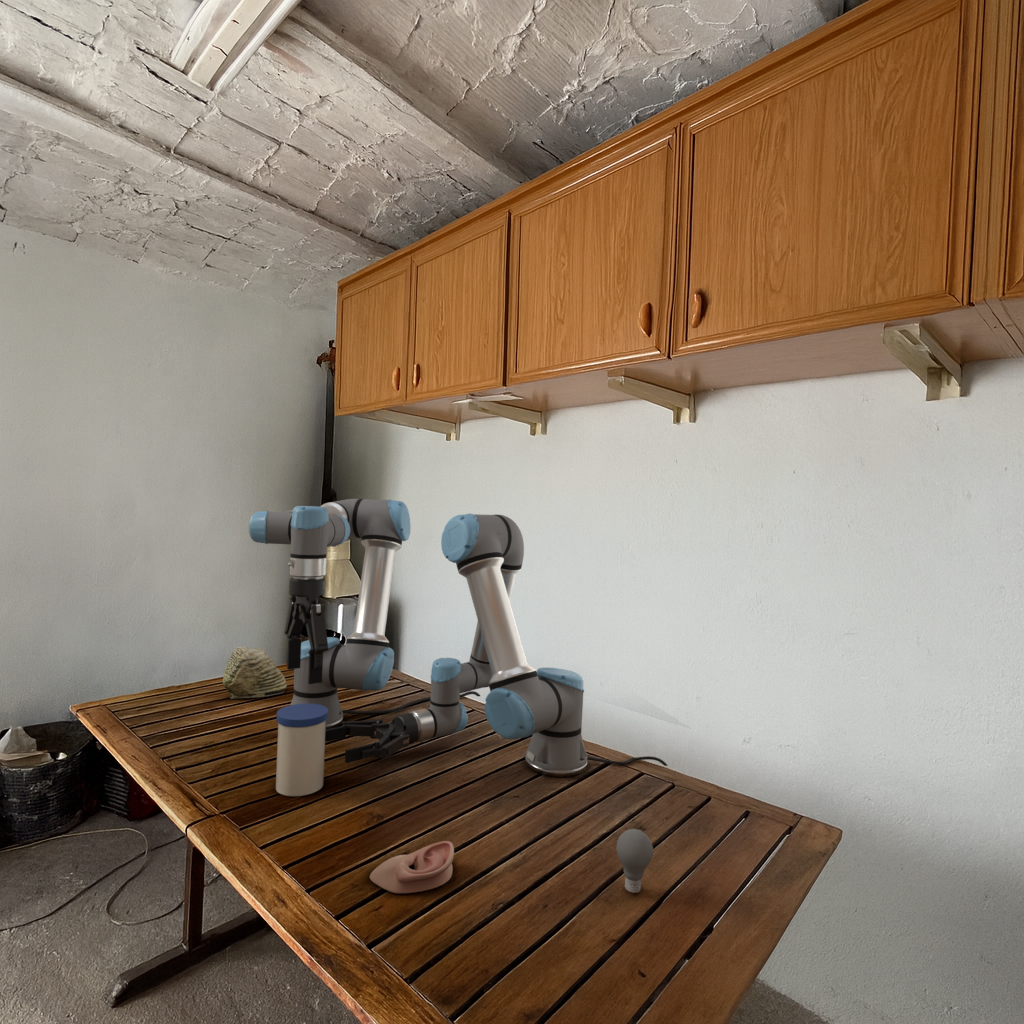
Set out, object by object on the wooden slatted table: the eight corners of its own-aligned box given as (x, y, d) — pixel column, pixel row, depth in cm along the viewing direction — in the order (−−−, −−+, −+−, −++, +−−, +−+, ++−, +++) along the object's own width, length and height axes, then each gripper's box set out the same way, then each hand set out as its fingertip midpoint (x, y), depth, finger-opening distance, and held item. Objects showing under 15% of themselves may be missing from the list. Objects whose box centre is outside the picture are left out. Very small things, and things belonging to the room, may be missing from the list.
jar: (311, 798, 133) (314, 723, 133) (266, 793, 134) (269, 719, 134) (330, 778, 143) (333, 708, 142) (289, 773, 144) (291, 704, 144)
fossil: (218, 695, 195) (220, 647, 195) (278, 685, 208) (279, 640, 207) (228, 703, 189) (230, 653, 188) (289, 692, 201) (290, 645, 201)
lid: (314, 729, 132) (315, 721, 132) (267, 724, 134) (267, 717, 134) (335, 712, 143) (335, 705, 143) (290, 708, 144) (291, 701, 144)
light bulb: (610, 879, 108) (613, 822, 108) (644, 879, 109) (647, 822, 109) (619, 902, 102) (622, 840, 102) (655, 901, 103) (658, 840, 103)
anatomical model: (362, 863, 103) (389, 828, 114) (361, 887, 103) (389, 850, 114) (440, 876, 100) (460, 839, 112) (439, 901, 101) (459, 861, 112)
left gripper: (272, 571, 145) (268, 664, 145) (311, 585, 126) (307, 692, 126) (304, 570, 149) (301, 660, 150) (347, 583, 130) (343, 687, 131)
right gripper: (439, 759, 149) (357, 782, 135) (385, 727, 168) (308, 745, 154) (441, 727, 149) (358, 748, 135) (387, 699, 168) (309, 714, 154)
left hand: (303, 675), depth 138 cm, fingers open, 12 cm apart
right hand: (331, 746), depth 144 cm, fingers open, 13 cm apart
